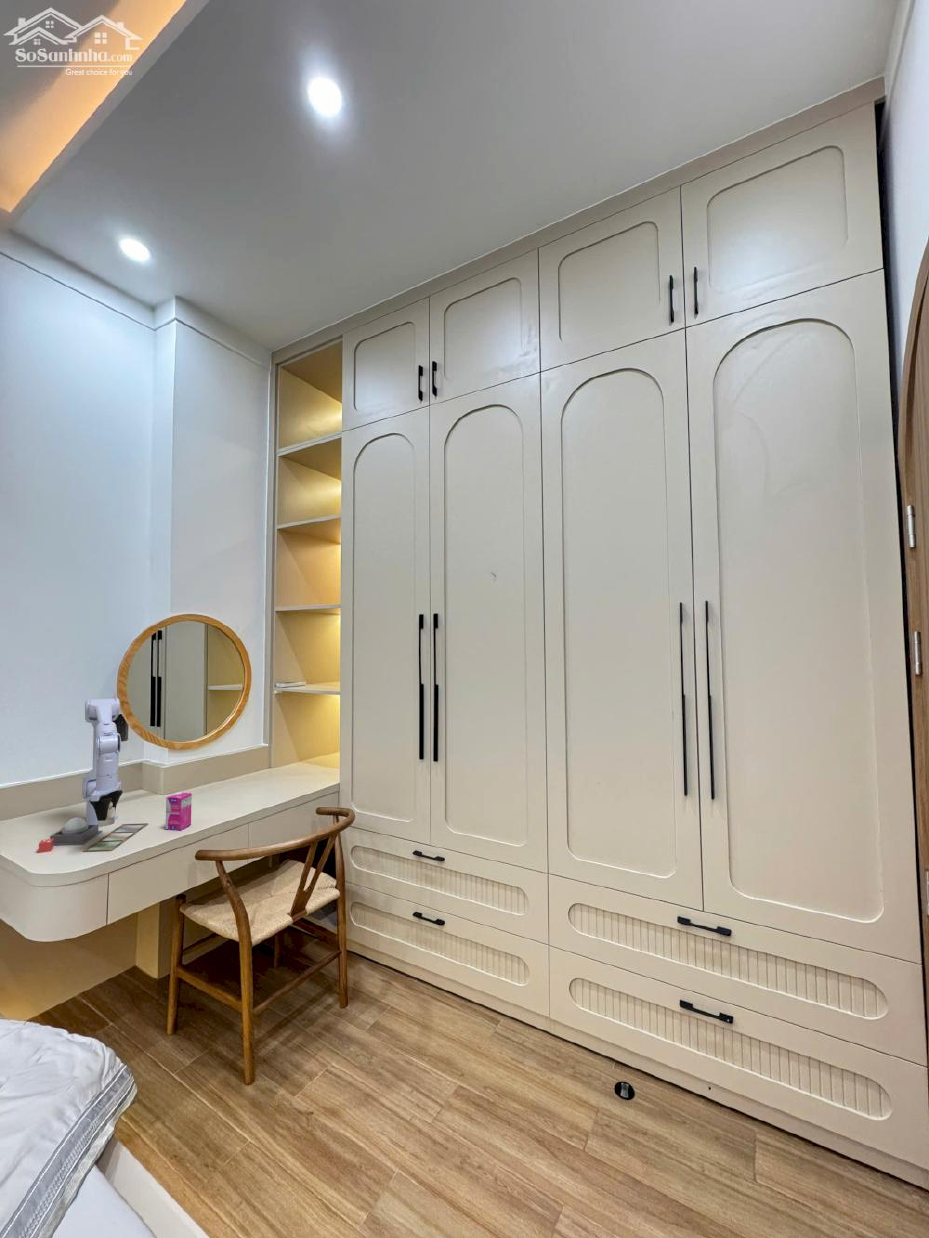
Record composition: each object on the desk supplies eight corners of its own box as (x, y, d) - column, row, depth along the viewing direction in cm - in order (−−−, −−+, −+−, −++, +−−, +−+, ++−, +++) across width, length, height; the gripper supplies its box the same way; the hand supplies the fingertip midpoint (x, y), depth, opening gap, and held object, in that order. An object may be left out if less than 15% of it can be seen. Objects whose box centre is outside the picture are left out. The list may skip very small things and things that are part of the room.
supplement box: (164, 830, 178) (165, 796, 179) (176, 824, 184) (177, 791, 184) (180, 831, 177) (180, 797, 178) (191, 825, 183) (192, 792, 183)
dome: (70, 831, 173) (70, 814, 174) (92, 830, 174) (93, 813, 174) (56, 839, 167) (56, 821, 167) (80, 839, 167) (80, 821, 168)
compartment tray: (122, 825, 183) (122, 824, 183) (148, 824, 184) (148, 823, 184) (82, 852, 160) (82, 851, 160) (111, 851, 161) (111, 849, 161)
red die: (41, 849, 162) (41, 839, 162) (53, 848, 163) (53, 838, 163) (38, 853, 159) (38, 843, 159) (50, 851, 160) (51, 841, 161)
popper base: (67, 833, 175) (67, 824, 175) (102, 832, 176) (102, 823, 177) (45, 846, 164) (45, 836, 164) (82, 845, 166) (83, 835, 166)
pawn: (108, 820, 168) (109, 797, 168) (117, 822, 166) (118, 799, 166) (94, 824, 164) (95, 801, 164) (103, 827, 162) (103, 803, 162)
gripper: (105, 768, 172) (104, 810, 171) (80, 780, 158) (78, 826, 157) (128, 768, 173) (127, 809, 173) (105, 779, 159) (104, 825, 158)
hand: (105, 817), depth 165 cm, fingers closed on pawn, 4 cm apart
